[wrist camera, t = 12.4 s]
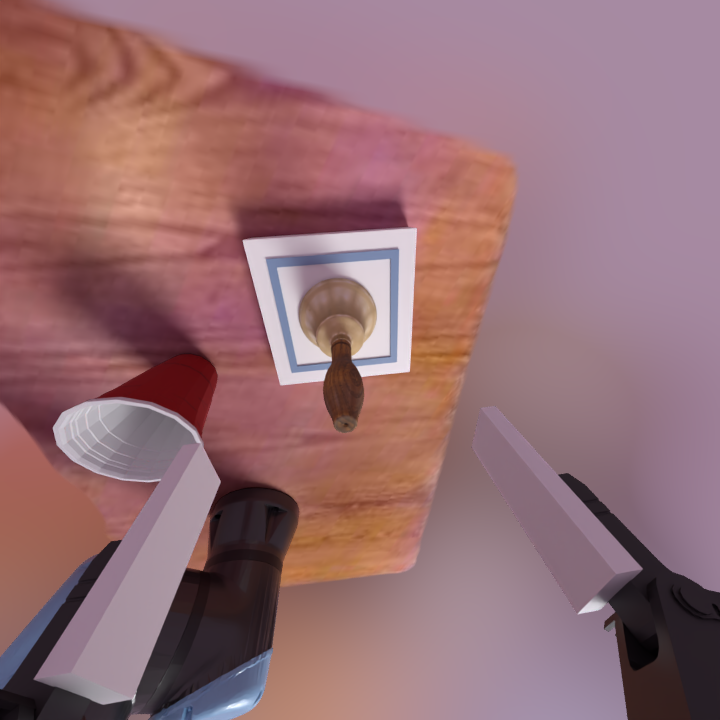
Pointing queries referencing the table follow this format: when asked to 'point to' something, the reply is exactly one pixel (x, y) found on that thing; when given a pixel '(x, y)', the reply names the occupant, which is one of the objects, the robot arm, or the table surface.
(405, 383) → the table surface
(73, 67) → the table surface
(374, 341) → the display board
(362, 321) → the hand bell
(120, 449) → the plastic cup
